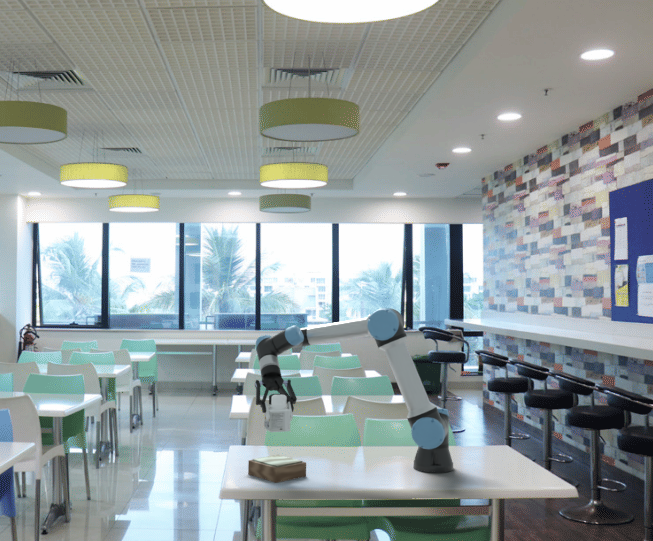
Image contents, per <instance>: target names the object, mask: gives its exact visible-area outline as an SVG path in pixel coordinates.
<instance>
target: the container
mask: <svg viewBox="0 0 653 541" xmlns="http://www.w3.org/2000/svg"><path fill="white" fill-rule="evenodd" d="M268 408H269V414H270V419H269V422H267V420H266V415H265V414H264V426H263V427H264V429H265V430H266V431H268V432H270V433H280V432H281V433H283V432H284V433H285V432H291V421H290V414H291V410H289V409H287V396H286V395H284V394H280V393H271V394H270V395H269V396H268Z"/></svg>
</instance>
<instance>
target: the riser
mask: <svg viewBox="0 0 653 541" xmlns="http://www.w3.org/2000/svg"><path fill="white" fill-rule="evenodd" d="M247 469H248V473H247V475H249V476H253V477H256V478H259V479H262V480H266V481H269V482H272V483H276V484H277V483H283V482H285V481H286V482H287V481H290V480H297V479H301V478H306V477H307V462H306V461H303V460H300V459H297V458H292V457H289V456H284V455H280V454H275V455H269V456H263V457H256V458H252V459H250V460H248V468H247Z"/></svg>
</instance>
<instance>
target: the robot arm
mask: <svg viewBox="0 0 653 541" xmlns="http://www.w3.org/2000/svg"><path fill="white" fill-rule="evenodd" d="M404 326H405V321H404V316H403V315H402V313H400V312H399V311H398V310H396V309H395V308H390V307H389V308H387V307H381V308H377V309H376V310H374V311H373V312H372V313H371V314H368V315H367V317H361V318H355V319H349V320H343V321H337V322H330V323H324V324H318V325H312V326H307V327H301V328H300V326H298V325H296V324H295V325H291V326H289V327H286V328H285V329H284V330H282V331H280V332H279V333H277V334H276V335H273V336H272V335H270V334H265V335H260V336H259V337H258V338H257V339H256V340H255V348H256V349H255V351H256V355H257V360H258V364H259V370H260V375H261V376H260V377H261V380H259V379H255V381H254V382H255V383H254V387H255V405H257V406H259V405H260V408H261V411H262V413H263V414H264V416H265V415H266V420H267V422H269V419H270V414H269V408H268V407H269V402H267V401H266V400H267V397H268V394H269V392H270V391H271V392H272V391H277V394H284V395H286V396H287V406H286V408H287V409H289V410H291V414H290V422H292V421H293V417H294V416H293V412H294V409H295V408H294V405H296V404H297V403H296V402H297V400H298V398H297V395H296V393H295V391H294V389H293V386H292V384H291V383H292V381H291V379H287V380H284V379H283V377H282V372H281V367H280V362H279V358H278V356H279V355H281V354H283V353H284V352H287V351H288V350H291V349H296V348H303V347H309V346H315V345H321V344H326V343H327V344H328V343H335V342H340V341H347V340H353V339H361V338H366V337H370V338H372V339H374V341H375V344H376V345H377V348H378V349H379V350H381V351H382V352H384V355H385V357H386V360H387V362H388V364H389V366H390V369H391V371H392V374H393V376H394V378H395V382H396V384H397V386H398V389H399V391H400V394H401V396H402V399H403V401H404V404H405V406H406V408H407V411H408V413H407V416H406V419H407V422H408V424H409V426H410V429H411V431H410V432H411V438H412V440H413V442H414V443H415V445H417V446H418V447H417V450H416V453H415V456H414V459H413V469H414V470H417V471H419V472H425V473H436V474H437V473H449V472H452V471H453V470H454V461H453V458H452V456H451V452H450V448H449V447H450V446H449V445H450V444H449V443H450V439H449V438H450V434H449V433H450V432H449V431H450V422H449V421H450V414H449V410H448V409H447V408H437V406H436V404H433V403H432V402H430V399H429V396H428V394H427V391H426V389H425V387H424V384H423V381H422V379H421V377H420V375H419V372H418V370H417V367H416V366H415V363H414V361H413V360H414V359H413V358H412V356H411V354H410V351H409V348H408V345H407V343H406V341H407V339H408V336H407V333H406V330H405V328H404ZM262 386H263V387H264V388H265V389H264V394H263V397H262V399H261V387H262ZM284 386H285V388H286V389H285V388H284Z"/></svg>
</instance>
